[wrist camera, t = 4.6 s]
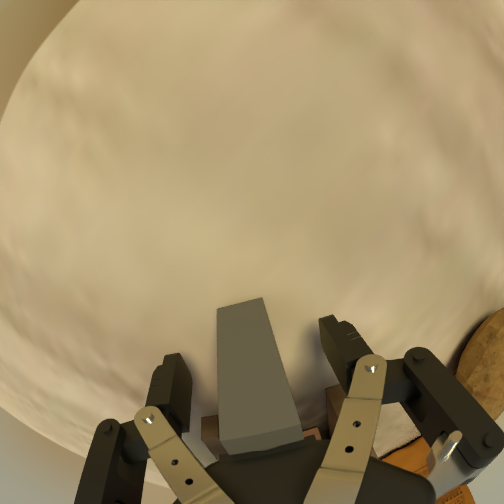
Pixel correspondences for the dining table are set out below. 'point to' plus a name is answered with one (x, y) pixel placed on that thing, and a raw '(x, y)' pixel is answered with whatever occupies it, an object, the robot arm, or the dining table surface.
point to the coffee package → (426, 470)
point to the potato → (485, 365)
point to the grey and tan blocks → (253, 383)
